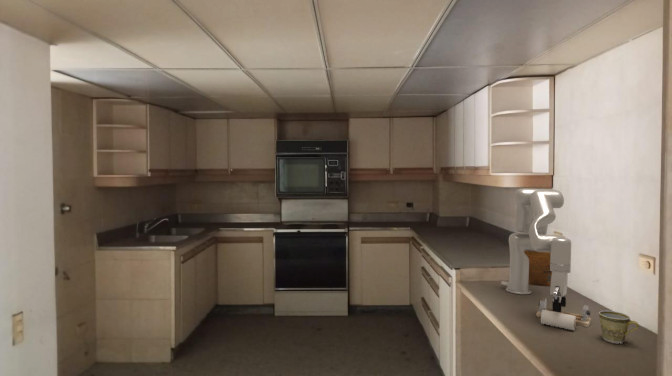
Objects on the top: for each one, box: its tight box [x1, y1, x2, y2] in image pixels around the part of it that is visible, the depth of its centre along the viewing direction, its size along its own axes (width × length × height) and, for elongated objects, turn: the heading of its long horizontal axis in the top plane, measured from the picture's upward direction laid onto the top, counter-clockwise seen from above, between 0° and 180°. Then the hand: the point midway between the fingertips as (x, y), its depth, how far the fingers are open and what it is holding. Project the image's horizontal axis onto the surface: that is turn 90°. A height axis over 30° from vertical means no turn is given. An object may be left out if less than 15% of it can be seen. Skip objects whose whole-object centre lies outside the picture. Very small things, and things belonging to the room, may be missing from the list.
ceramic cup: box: [598, 310, 640, 345], centre depth 162 cm, size 13×10×10 cm
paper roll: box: [540, 310, 577, 332], centre depth 177 cm, size 12×6×6 cm, turn 53°
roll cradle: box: [535, 297, 592, 328], centre depth 187 cm, size 20×9×7 cm, turn 53°
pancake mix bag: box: [524, 251, 552, 287], centre depth 244 cm, size 7×19×28 cm, turn 72°
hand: (559, 308), depth 177 cm, fingers open, 9 cm apart
